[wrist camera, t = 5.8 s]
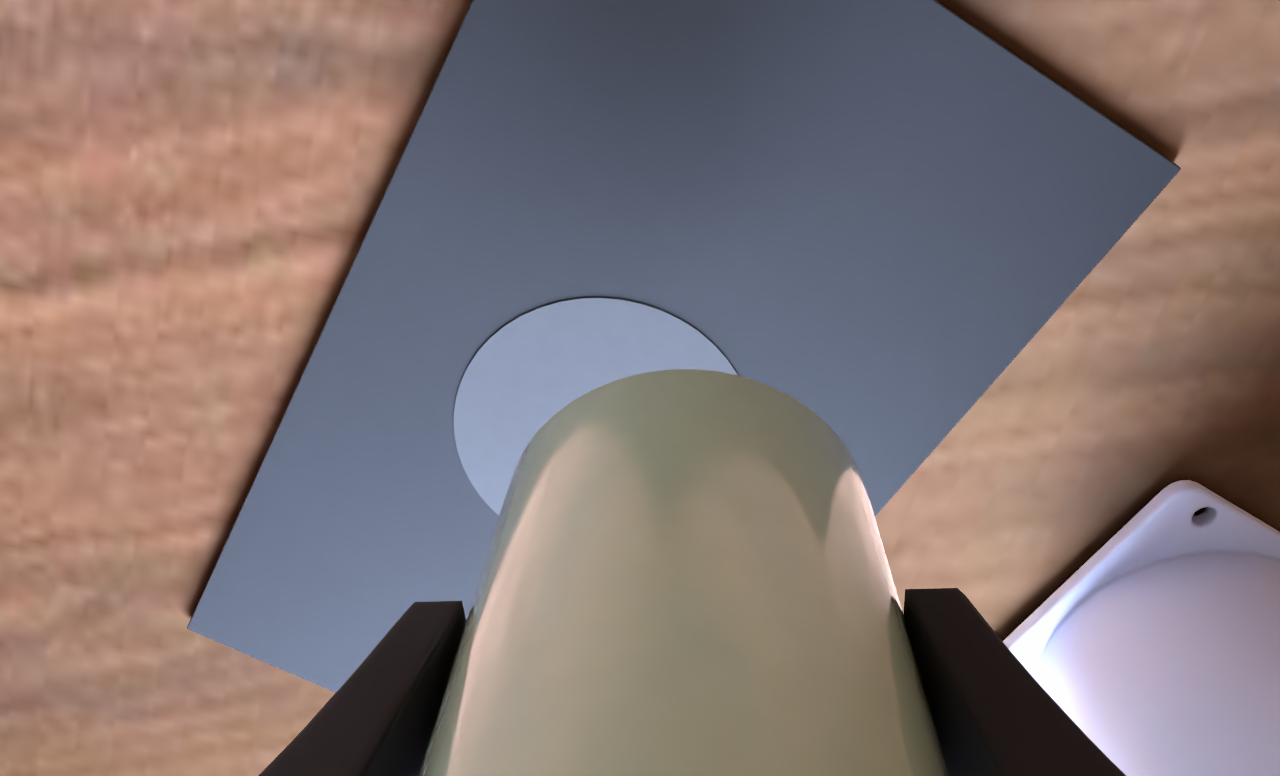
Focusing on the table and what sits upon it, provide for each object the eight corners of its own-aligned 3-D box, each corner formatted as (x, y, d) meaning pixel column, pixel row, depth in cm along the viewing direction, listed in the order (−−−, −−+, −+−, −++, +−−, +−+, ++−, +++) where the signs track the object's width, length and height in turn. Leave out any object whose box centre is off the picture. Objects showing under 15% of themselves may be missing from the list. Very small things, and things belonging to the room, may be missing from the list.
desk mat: (1175, 164, 18) (1183, 169, 17) (615, 804, 27) (614, 813, 27) (584, -240, 15) (581, -242, 15) (191, 621, 25) (185, 630, 24)
